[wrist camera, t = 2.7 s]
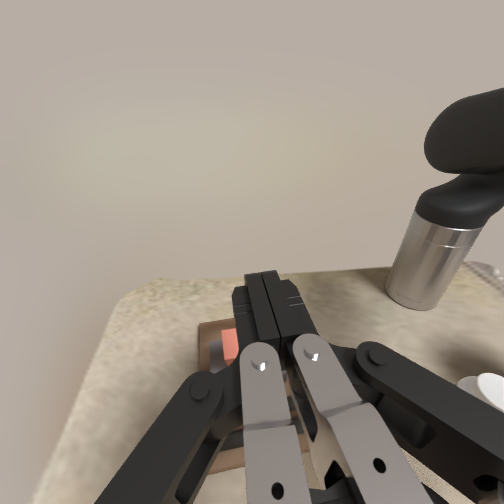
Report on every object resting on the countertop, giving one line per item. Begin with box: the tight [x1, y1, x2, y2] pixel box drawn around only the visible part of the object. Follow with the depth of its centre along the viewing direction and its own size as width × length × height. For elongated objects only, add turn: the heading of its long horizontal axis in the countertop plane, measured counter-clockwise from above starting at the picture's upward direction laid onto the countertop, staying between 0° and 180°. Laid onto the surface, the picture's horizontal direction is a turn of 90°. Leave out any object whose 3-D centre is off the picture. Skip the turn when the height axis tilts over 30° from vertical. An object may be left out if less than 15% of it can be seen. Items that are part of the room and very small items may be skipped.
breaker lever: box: [221, 328, 239, 366], centre depth 28 cm, size 2×5×15 cm, turn 100°
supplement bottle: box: [455, 373, 504, 413], centre depth 27 cm, size 6×6×10 cm
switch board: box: [200, 318, 310, 475], centre depth 34 cm, size 20×14×6 cm
